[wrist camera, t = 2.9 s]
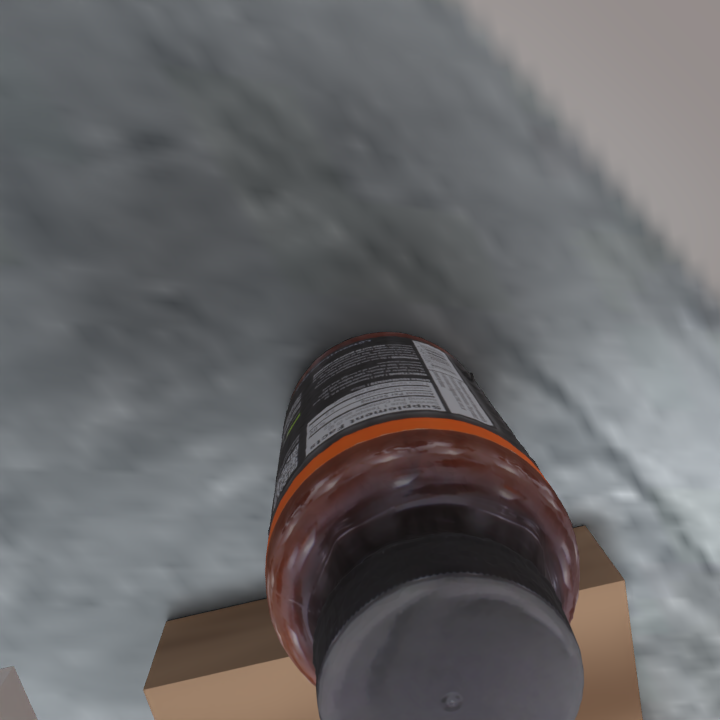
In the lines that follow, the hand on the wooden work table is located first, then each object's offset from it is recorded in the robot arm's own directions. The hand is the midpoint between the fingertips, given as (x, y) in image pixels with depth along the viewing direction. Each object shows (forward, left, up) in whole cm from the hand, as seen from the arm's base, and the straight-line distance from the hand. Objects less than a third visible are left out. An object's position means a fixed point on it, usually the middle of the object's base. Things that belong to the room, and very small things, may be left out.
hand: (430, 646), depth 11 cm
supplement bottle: (0, 0, -10) cm, 10 cm away
